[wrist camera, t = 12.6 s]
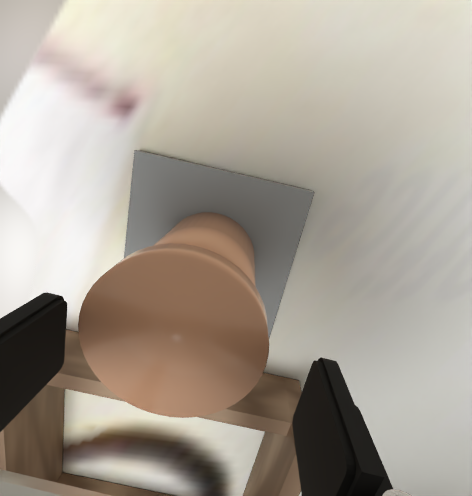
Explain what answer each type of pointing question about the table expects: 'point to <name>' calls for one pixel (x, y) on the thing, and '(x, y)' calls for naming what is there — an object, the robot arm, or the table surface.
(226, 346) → the terracotta pot
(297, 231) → the slate mat
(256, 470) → the brown wooden square frame
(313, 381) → the robot arm
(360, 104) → the table surface
